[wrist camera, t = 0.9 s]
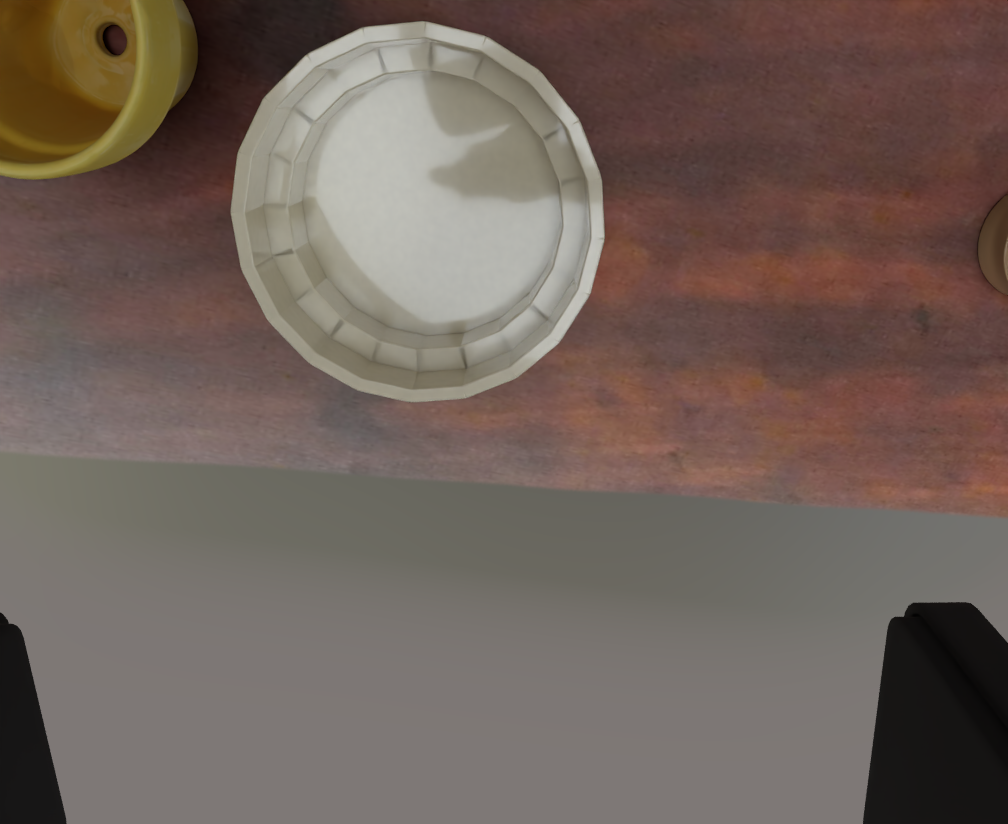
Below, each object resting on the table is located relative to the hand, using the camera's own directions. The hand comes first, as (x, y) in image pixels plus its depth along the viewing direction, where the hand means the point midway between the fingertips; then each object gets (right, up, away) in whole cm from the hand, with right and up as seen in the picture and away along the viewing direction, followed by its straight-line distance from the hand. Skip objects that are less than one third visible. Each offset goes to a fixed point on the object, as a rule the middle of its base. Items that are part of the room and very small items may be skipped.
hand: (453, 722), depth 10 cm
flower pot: (-17, +20, +31) cm, 40 cm away
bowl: (-3, +13, +32) cm, 35 cm away
